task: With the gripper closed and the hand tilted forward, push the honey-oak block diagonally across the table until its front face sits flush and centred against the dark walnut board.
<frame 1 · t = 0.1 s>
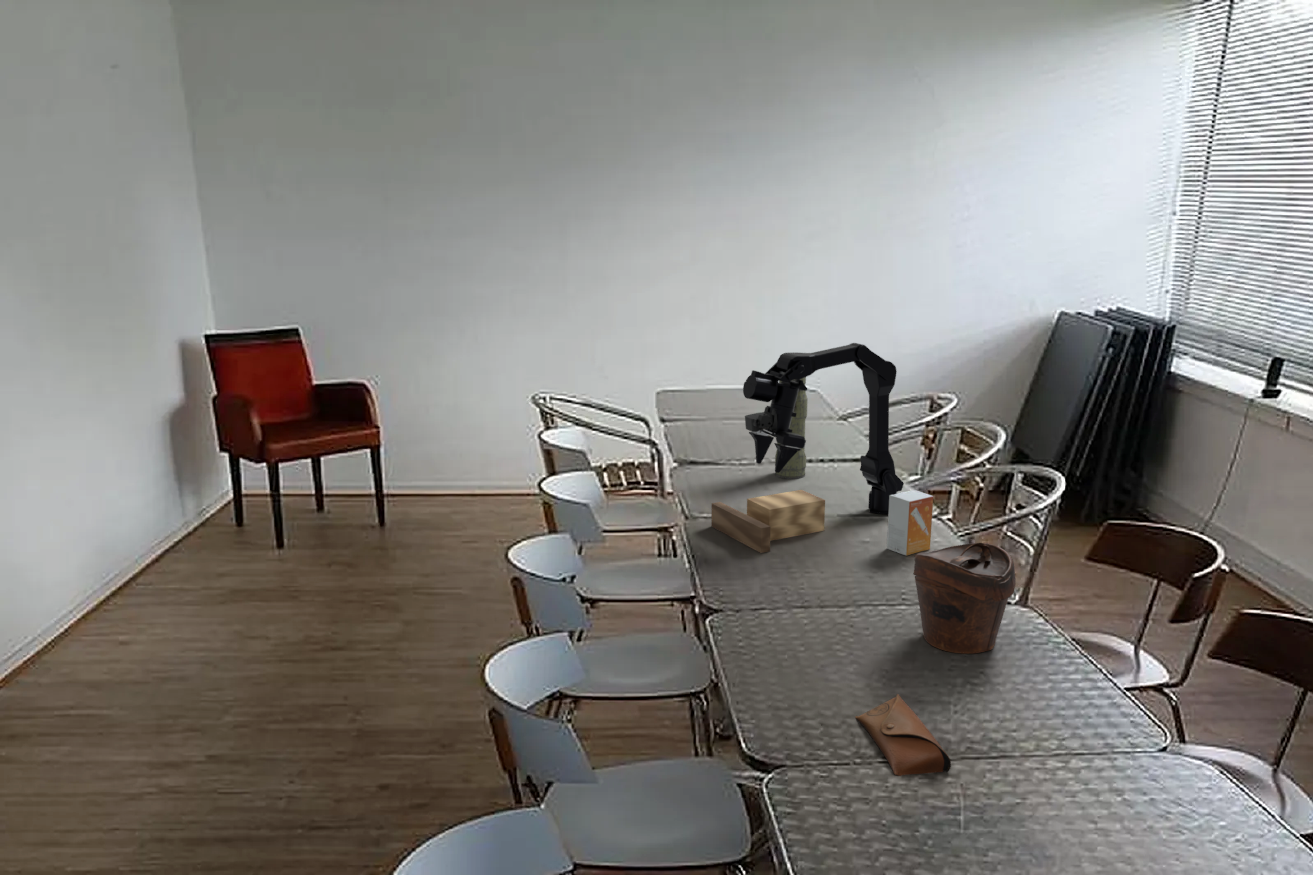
hand: (767, 467, 246), 15 cm above the table, tool pointing down, fingers open, 9 cm apart
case: (959, 639, 187), on the table
thermos: (790, 475, 297), on the table
oak block: (785, 530, 249), on the table
sunglasses case: (899, 746, 152), on the table
small box: (908, 550, 234), on the table
walnut board: (739, 538, 243), on the table
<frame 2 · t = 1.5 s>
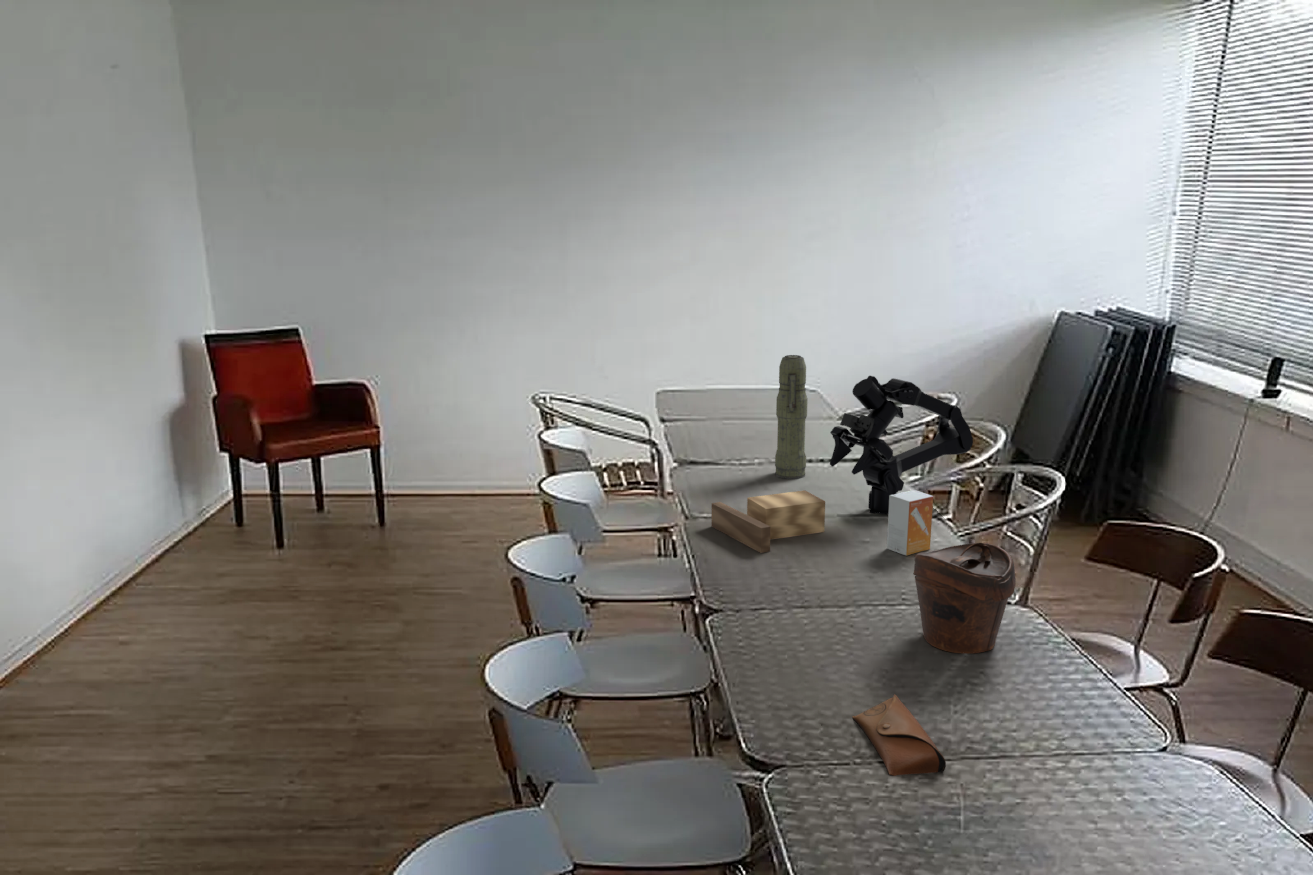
hand: (841, 469, 253), 13 cm above the table, tool tilted 45°, fingers open, 8 cm apart
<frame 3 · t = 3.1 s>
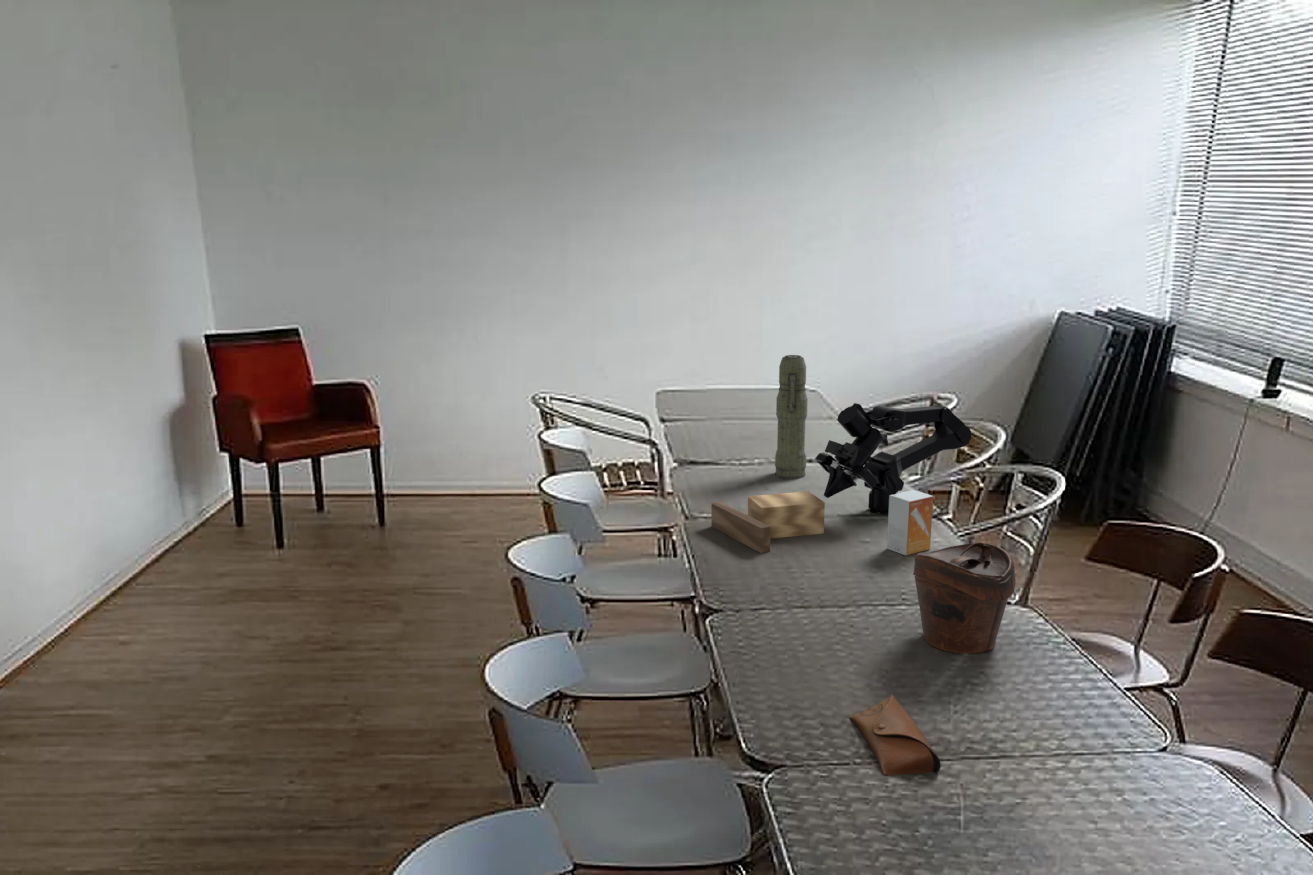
hand: (825, 496, 252), 7 cm above the table, tool tilted 45°, fingers closed
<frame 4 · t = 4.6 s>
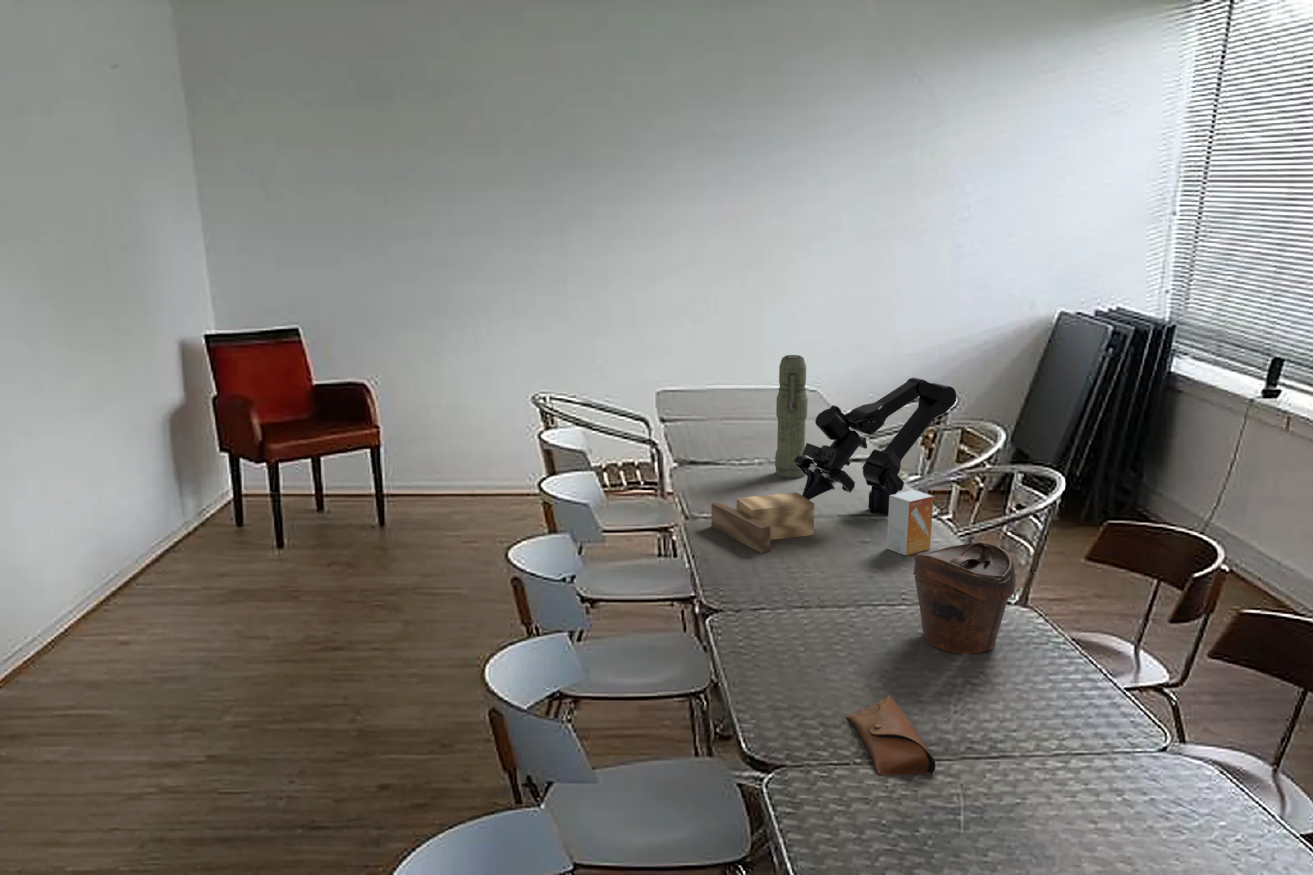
hand: (803, 500, 249), 7 cm above the table, tool tilted 45°, fingers closed, pressing on oak block
oak block: (774, 532, 247), on the table, touching gripper, walnut board
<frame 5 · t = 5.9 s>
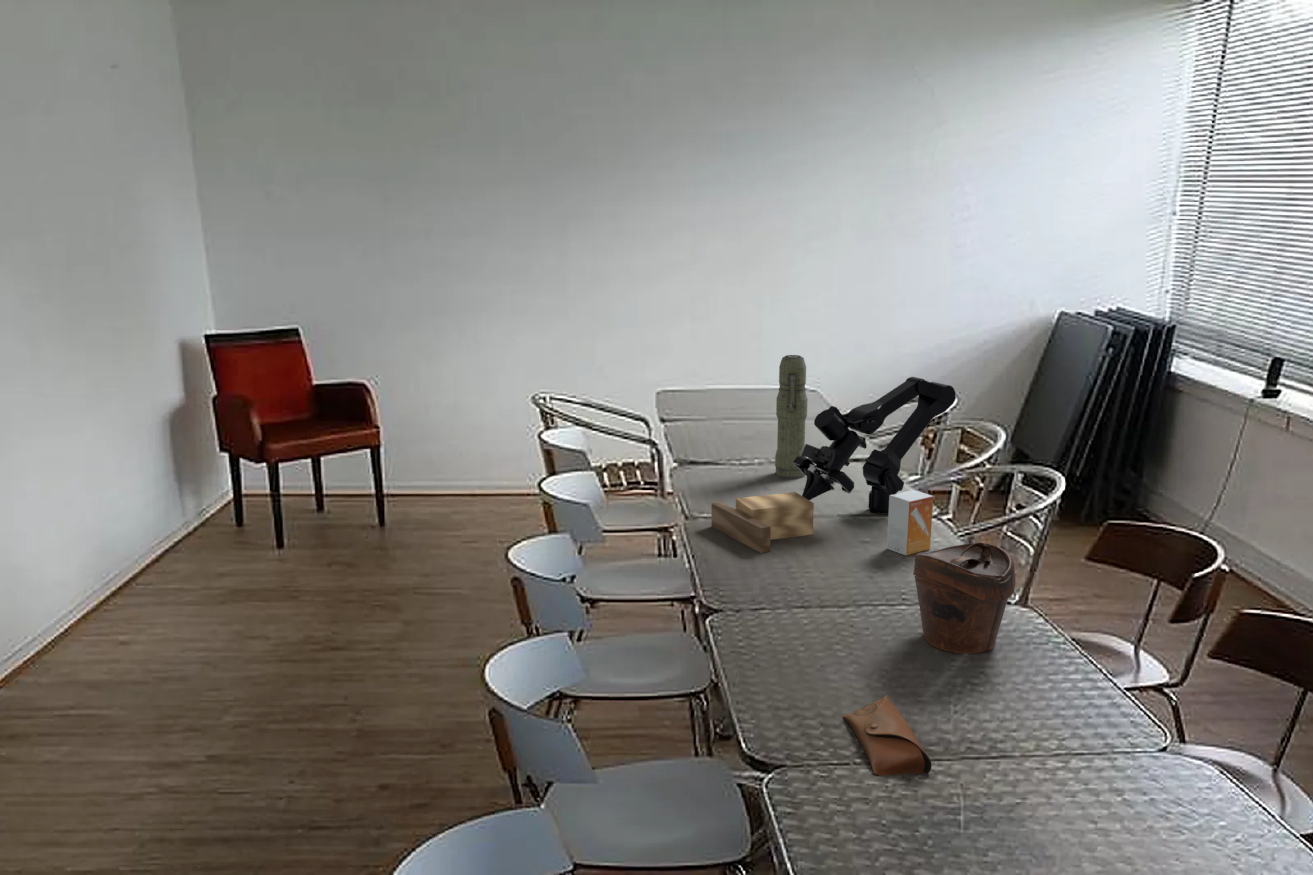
hand: (803, 501, 250), 6 cm above the table, tool tilted 45°, fingers closed
oak block: (773, 532, 247), on the table
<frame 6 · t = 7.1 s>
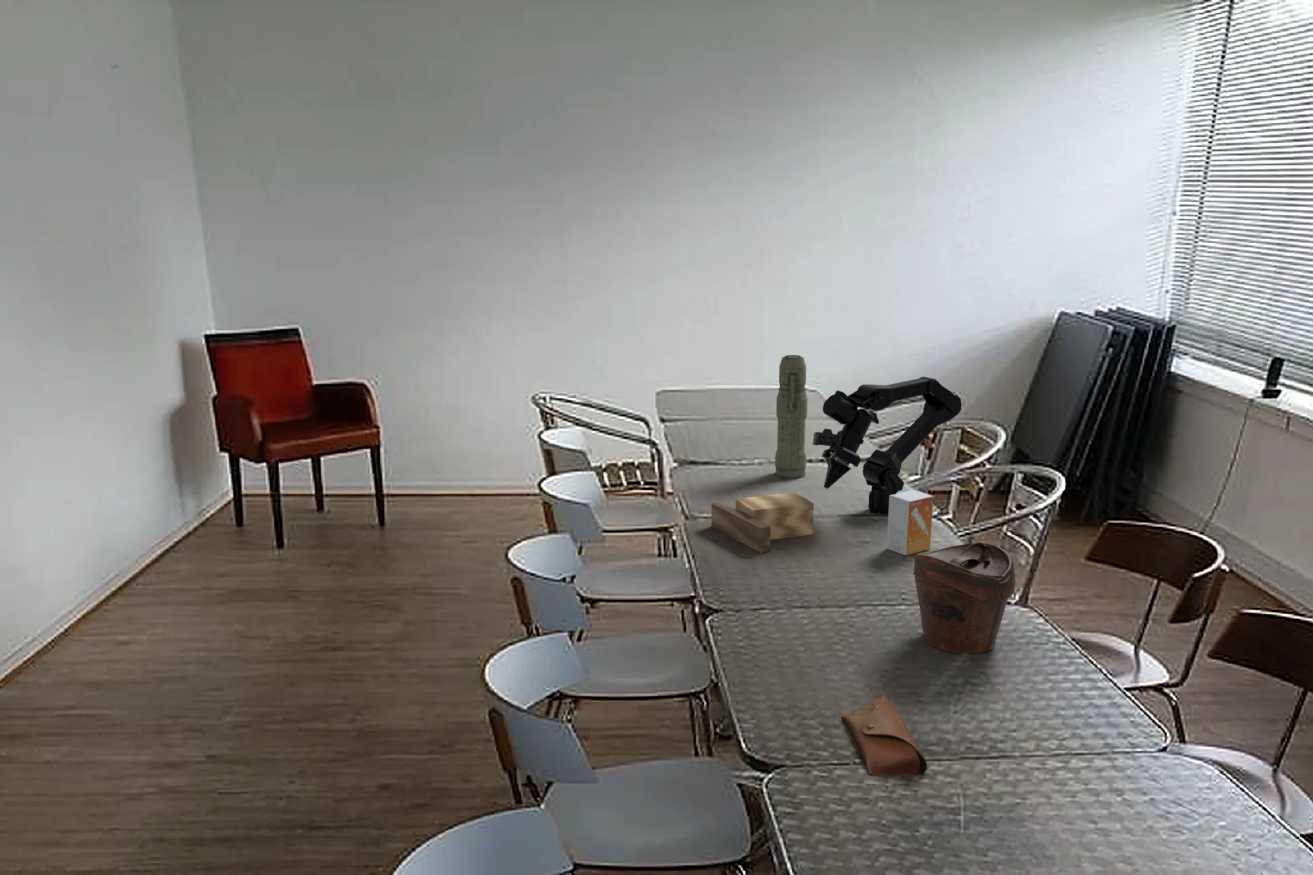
hand: (825, 487, 252), 9 cm above the table, tool tilted 30°, fingers closed
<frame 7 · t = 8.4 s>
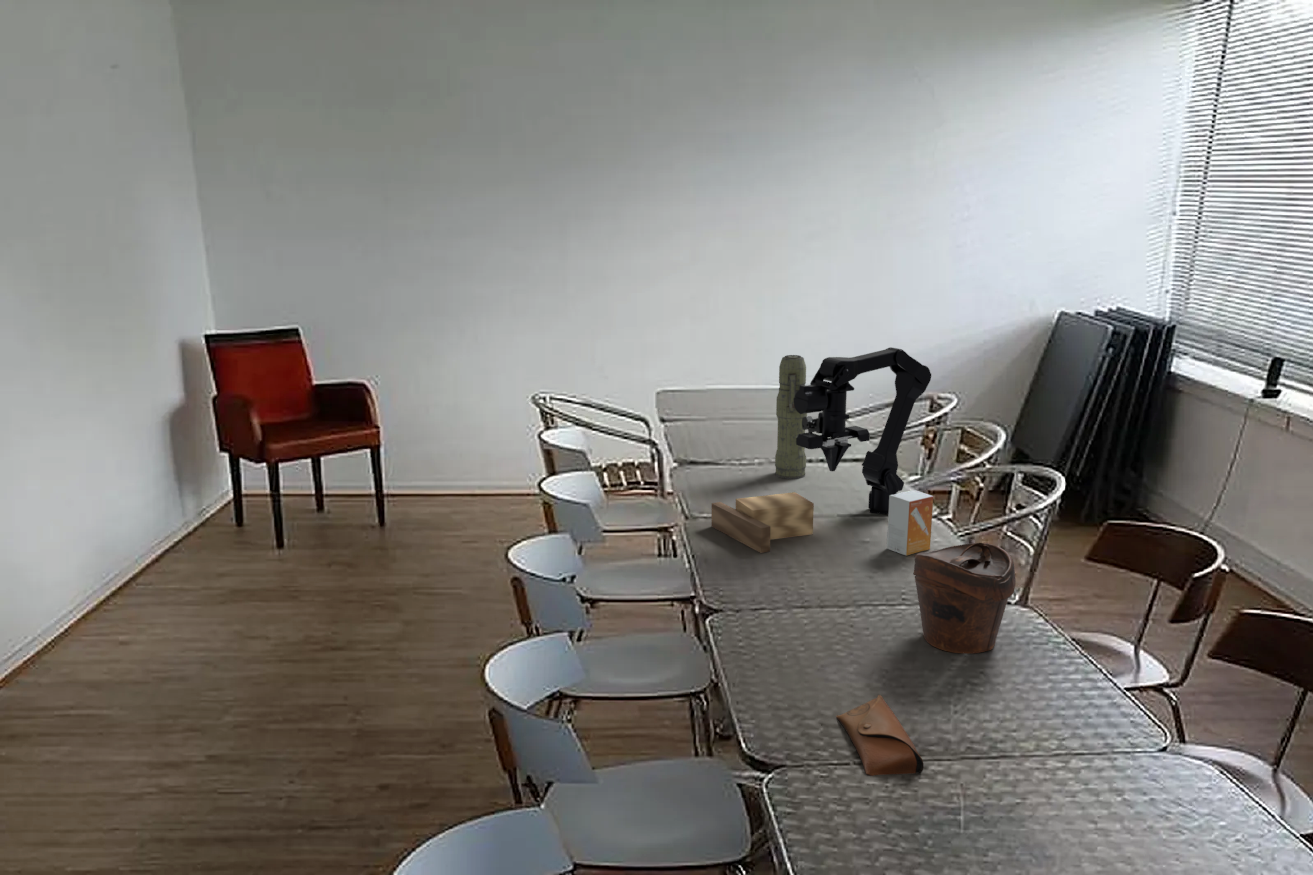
hand: (832, 471, 252), 13 cm above the table, tool pointing down, fingers closed
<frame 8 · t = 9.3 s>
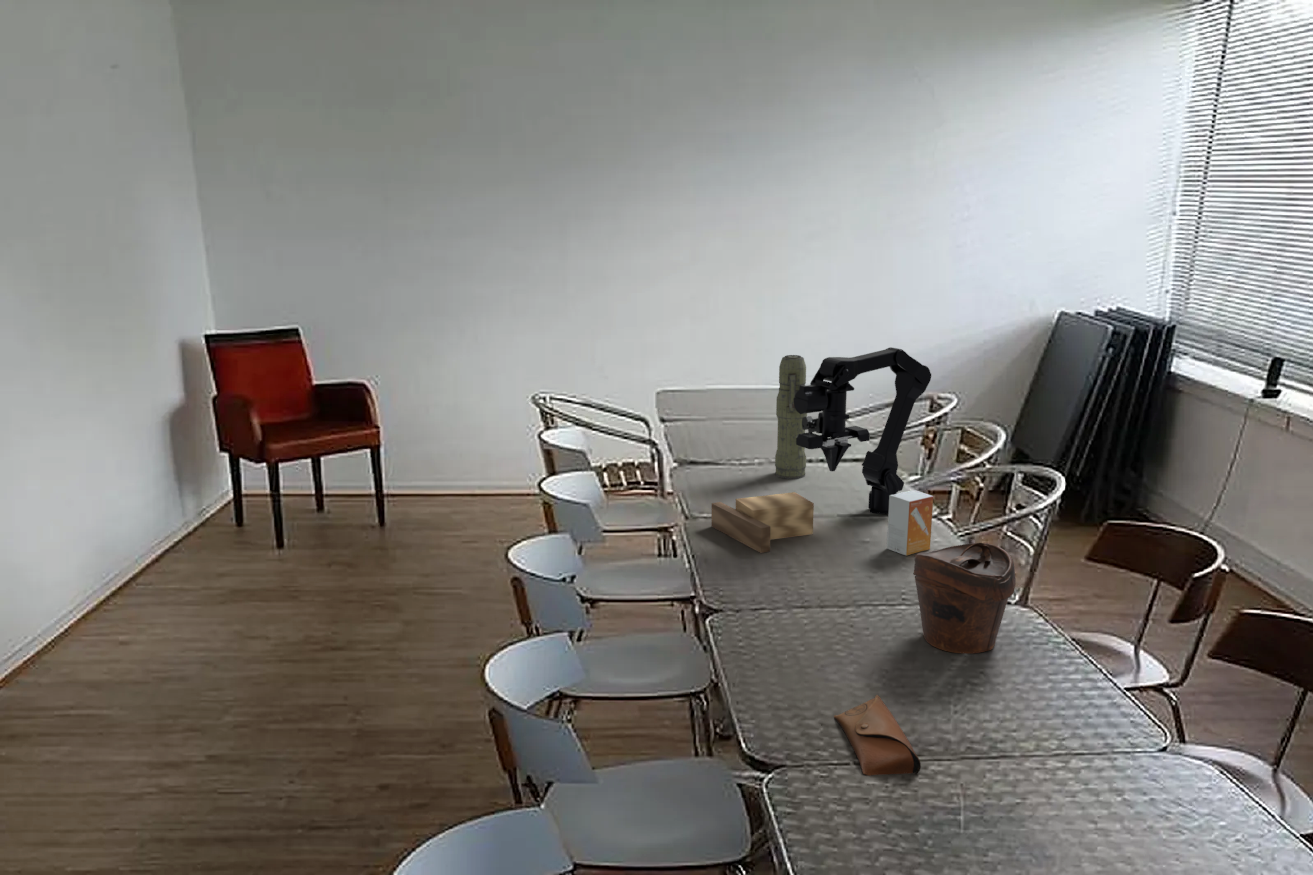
hand: (832, 471, 252), 13 cm above the table, tool pointing down, fingers closed
at the end: oak block 10.0 cm from the walnut board (horizontally); oak block 0.7 cm from the target spot on the table beside the walnut board, on the table; oak block tilted 0° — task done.
